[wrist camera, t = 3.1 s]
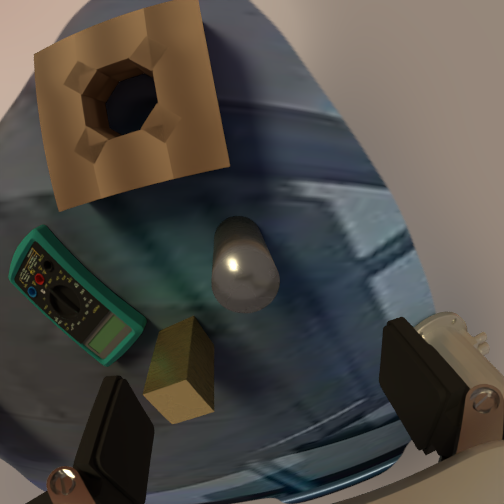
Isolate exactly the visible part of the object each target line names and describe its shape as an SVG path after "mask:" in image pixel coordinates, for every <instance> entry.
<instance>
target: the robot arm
mask: <svg viewBox="0 0 504 504" xmlns="http://www.w3.org/2000/svg"><path fill="white" fill-rule="evenodd" d="M486 340H487V335H486V333H484V332H482V333H480V334H478V335H477V336H475V337H472V336H471V335H470V334H469V333H467V326H466V323H465V321H464V320H463V319H462V318H461V317H460V316H459V315H457V314H455V313H453V312H441V313H437V314H435V315H432V316H430V317H428V318H427V319H425V320H423V321H422V322H420V323H419V324H418V325H416V326H415V327H414V328H413V327H412V326H411V325H410V323H409V322H408V321H407V320H406V319H405V318H404V317H400V318H396V319H393V320H390V321H388V322H387V326H385V327H384V328H383V338H382V351H381V363H380V373H379V383H380V386H381V388H382V390H383V391H384V393H385V395H386V396H387V398H388V400H389V401H390V403H391V405H392V406H393V408H394V410H395V411H396V413H397V415H398V416H399V418H400V420H401V422H402V423H403V425H404V427H405V428H406V430H407V432H408V434H409V435H410V437H411V439H412V441H413V442H414V444H415V446H416V447H417V449H418V450H423V451H424V453H425V455H427V454H429V453H431V452H433V451H435V450H436V451H437V453H438V455H440V458H439V461H438V463H437V464H435V465H433V466H431V467H429V468H426V469H424V470H422V471H420V472H418V473H415V474H413V475H411V476H409V477H406V478H404V479H402V480H399V481H397V482H394V483H392V484H389V485H387V486H384V487H381V488H379V489H376V490H373V491H371V492H368V493H365V494H362V495H359V496H356V497H353V498H350V499H346V500H343V501H339V502H336V503H333V504H504V376H503V375H502V374H501V373H500V372H499V371H498V370H497V369H496V368H495V367H494V366H493V365H492V364H491V363H490V362H489V361H488V360H487V359H486V358H485V357H484V355H486V354H488V353H489V345H488V343H487V342H485V341H486ZM153 439H154V426H153V424H152V422H151V420H150V419H149V417H148V416H147V414H146V412H145V411H144V409H143V407H142V406H141V404H140V402H139V401H138V399H137V397H136V396H135V394H134V392H133V390H132V389H131V387H130V385H129V383H128V382H127V380H126V379H123V378H122V377H121V376H106V377H105V378H104V379H103V382H102V384H101V387H100V390H99V392H98V395H97V397H96V400H95V403H94V405H93V408H92V411H91V413H90V416H89V419H88V422H87V425H86V427H85V430H84V433H83V436H82V439H81V442H80V445H79V448H78V451H77V454H76V457H75V460H74V465H73V468H72V467H68V466H61V467H59V468H56V469H55V470H54V471H52V472H51V474H50V475H49V477H48V479H47V484H46V486H47V490H48V491H46V492H44V493H43V494H41V495H39V496H38V497H36V498H34V499H33V500H31V501H29V502H28V503H26V504H144V503H145V500H146V491H147V482H148V474H149V467H150V459H151V452H152V445H153Z"/></svg>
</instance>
